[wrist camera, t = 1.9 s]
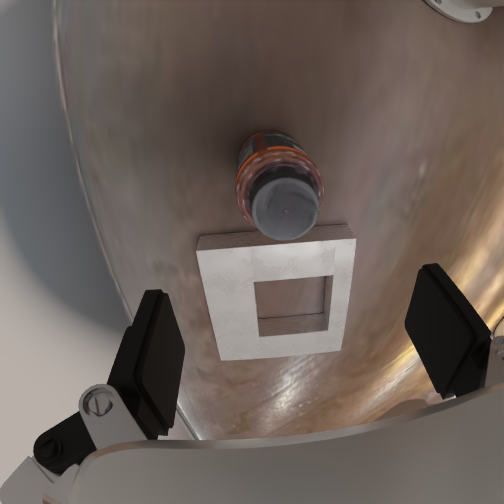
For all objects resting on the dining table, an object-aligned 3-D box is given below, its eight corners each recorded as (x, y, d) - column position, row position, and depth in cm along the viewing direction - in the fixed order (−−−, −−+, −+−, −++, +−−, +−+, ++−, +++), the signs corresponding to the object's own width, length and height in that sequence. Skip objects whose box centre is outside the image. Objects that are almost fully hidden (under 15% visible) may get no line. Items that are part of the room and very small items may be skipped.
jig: (347, 224, 30) (356, 238, 28) (335, 333, 39) (340, 350, 36) (200, 235, 31) (196, 251, 28) (222, 343, 39) (221, 360, 37)
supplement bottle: (236, 190, 28) (231, 254, 19) (238, 128, 25) (231, 158, 16) (300, 192, 29) (327, 256, 19) (305, 131, 25) (342, 164, 16)
